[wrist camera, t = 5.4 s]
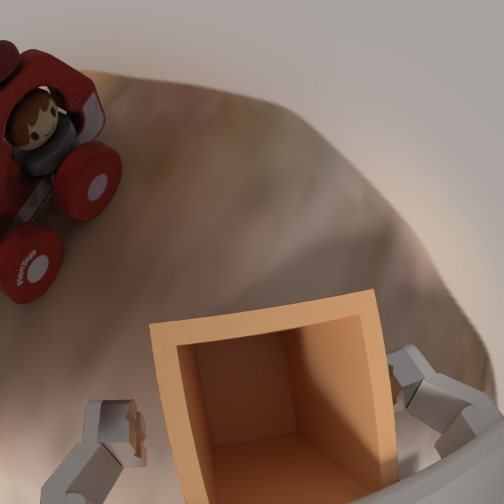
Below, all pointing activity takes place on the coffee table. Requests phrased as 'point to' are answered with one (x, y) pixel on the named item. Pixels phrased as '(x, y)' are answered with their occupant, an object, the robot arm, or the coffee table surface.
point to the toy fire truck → (46, 163)
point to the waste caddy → (279, 403)
